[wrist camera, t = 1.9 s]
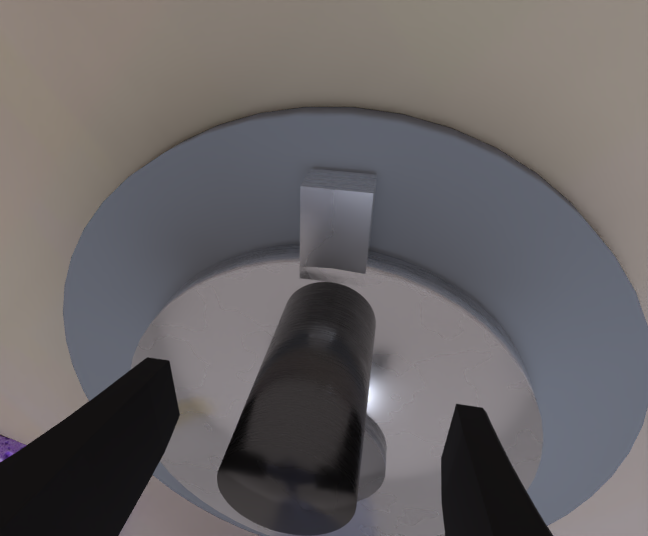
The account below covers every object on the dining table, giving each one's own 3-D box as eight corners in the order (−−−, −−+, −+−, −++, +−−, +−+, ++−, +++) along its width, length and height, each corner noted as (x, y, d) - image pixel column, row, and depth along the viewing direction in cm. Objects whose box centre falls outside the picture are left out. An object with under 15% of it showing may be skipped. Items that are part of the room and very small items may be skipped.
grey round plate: (534, 566, 25) (554, 654, 22) (136, 490, 28) (99, 557, 25) (772, 138, 13) (903, 187, 9) (13, 82, 16) (-97, 104, 12)
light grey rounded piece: (481, 548, 22) (510, 770, 16) (175, 491, 24) (90, 668, 18) (628, 197, 12) (855, 403, 6) (96, 149, 14) (-151, 266, 8)
